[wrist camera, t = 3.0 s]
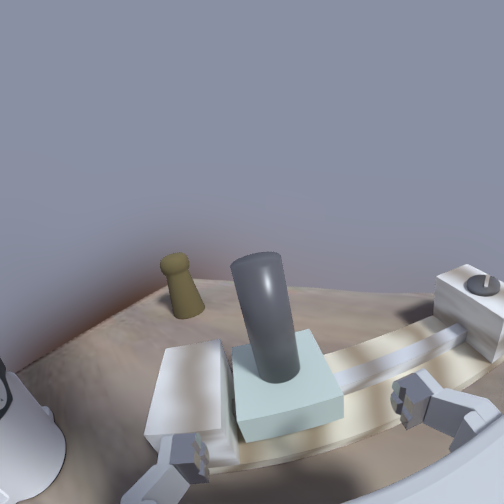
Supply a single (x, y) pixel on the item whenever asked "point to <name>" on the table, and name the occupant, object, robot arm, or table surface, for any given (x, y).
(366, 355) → the rail track
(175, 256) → the olive brown pepper mill
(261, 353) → the carriage
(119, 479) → the table surface
